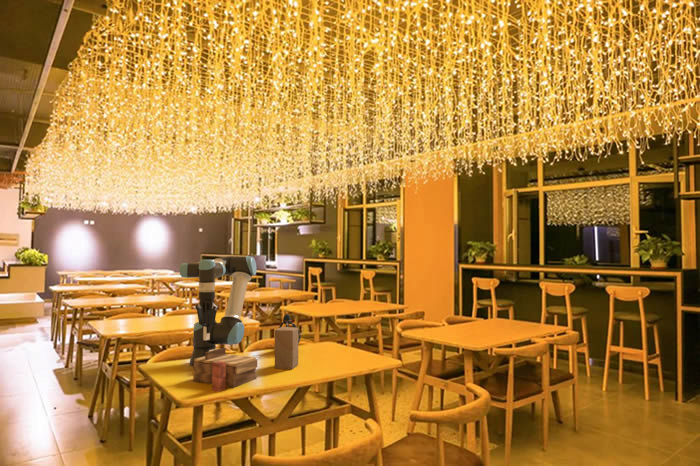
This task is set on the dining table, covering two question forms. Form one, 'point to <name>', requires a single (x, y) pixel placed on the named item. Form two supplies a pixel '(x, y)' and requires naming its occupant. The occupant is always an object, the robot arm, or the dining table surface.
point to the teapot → (288, 321)
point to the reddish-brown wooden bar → (218, 376)
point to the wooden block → (286, 347)
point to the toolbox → (205, 375)
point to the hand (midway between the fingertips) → (206, 339)
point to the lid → (229, 360)
